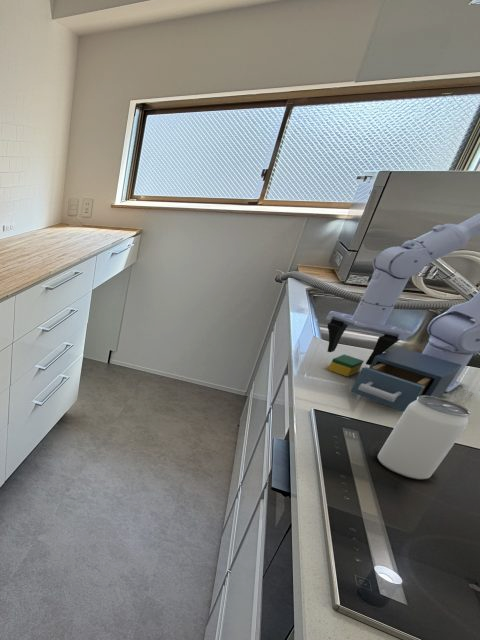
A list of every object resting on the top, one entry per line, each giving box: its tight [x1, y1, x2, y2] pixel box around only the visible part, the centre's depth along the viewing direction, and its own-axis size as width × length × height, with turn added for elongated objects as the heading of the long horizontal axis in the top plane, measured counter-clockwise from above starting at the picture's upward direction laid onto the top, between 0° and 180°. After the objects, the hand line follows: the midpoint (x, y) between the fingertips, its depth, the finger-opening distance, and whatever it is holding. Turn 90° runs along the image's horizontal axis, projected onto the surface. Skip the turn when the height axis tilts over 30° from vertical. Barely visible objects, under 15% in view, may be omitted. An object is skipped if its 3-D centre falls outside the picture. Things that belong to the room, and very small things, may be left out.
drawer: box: [349, 363, 434, 413], centre depth 85 cm, size 16×9×6 cm, turn 120°
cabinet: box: [368, 346, 462, 398], centre depth 90 cm, size 13×11×8 cm
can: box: [377, 396, 471, 480], centre depth 65 cm, size 6×6×12 cm
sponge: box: [327, 354, 364, 377], centre depth 99 cm, size 6×4×3 cm, turn 120°
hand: (349, 357), depth 98 cm, fingers open, 7 cm apart
